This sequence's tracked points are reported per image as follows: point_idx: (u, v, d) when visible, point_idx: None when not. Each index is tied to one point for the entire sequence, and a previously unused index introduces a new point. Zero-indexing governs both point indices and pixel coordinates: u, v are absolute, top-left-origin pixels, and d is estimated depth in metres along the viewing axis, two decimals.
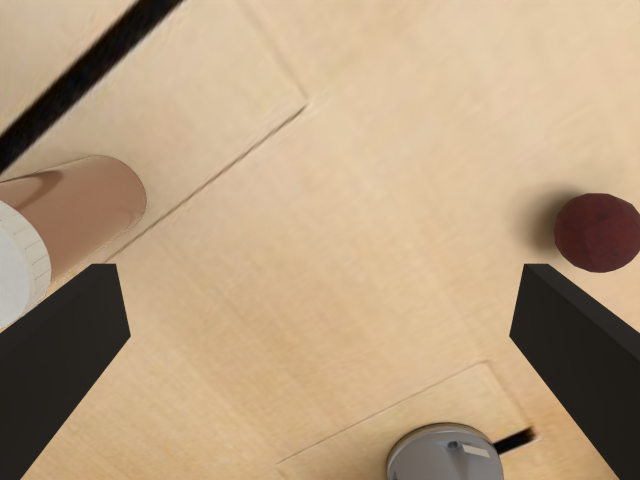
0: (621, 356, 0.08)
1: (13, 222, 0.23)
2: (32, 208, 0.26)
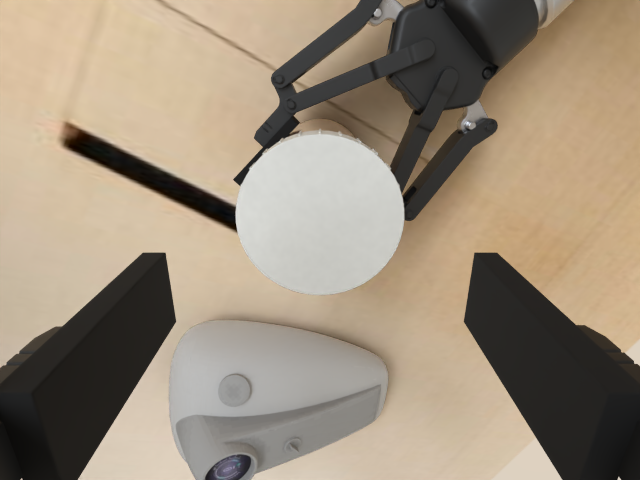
0: (541, 332, 0.09)
1: None
2: None
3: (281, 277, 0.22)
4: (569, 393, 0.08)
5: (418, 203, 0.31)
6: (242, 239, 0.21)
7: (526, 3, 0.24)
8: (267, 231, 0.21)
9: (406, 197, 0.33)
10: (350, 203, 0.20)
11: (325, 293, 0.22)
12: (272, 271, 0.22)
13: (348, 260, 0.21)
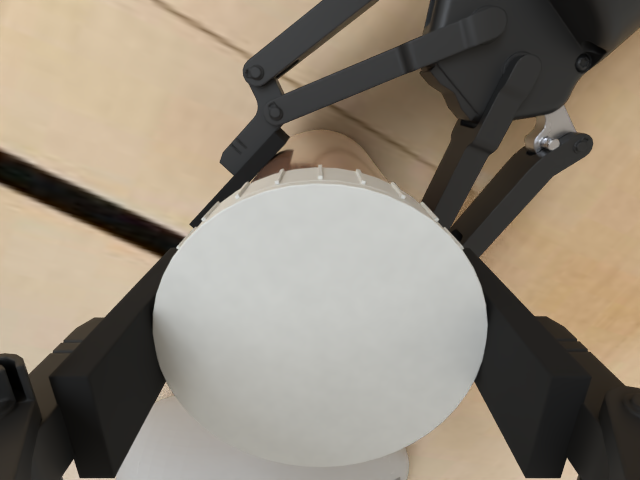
0: (501, 322, 0.10)
1: None
2: None
3: (247, 439, 0.12)
4: (522, 379, 0.08)
5: None
6: (169, 378, 0.11)
7: None
8: (217, 365, 0.11)
9: None
10: (381, 316, 0.10)
11: (330, 464, 0.12)
12: (230, 430, 0.11)
13: (373, 413, 0.11)
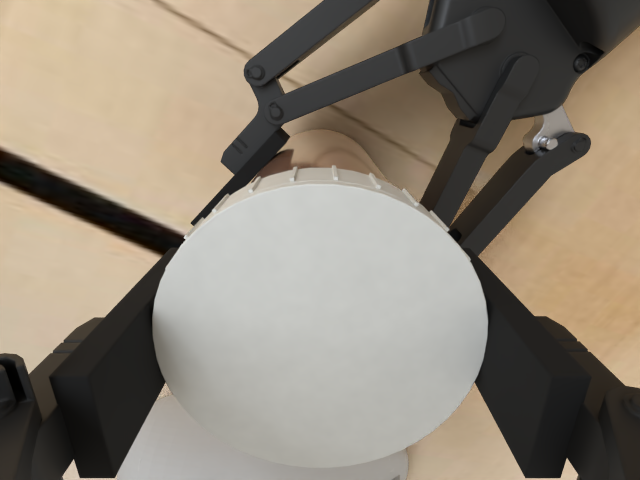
0: (501, 322, 0.10)
1: None
2: None
3: (384, 444, 0.12)
4: (522, 379, 0.08)
5: None
6: (285, 462, 0.12)
7: None
8: (292, 426, 0.11)
9: None
10: (315, 286, 0.10)
11: (460, 399, 0.11)
12: (365, 450, 0.12)
13: (423, 339, 0.10)
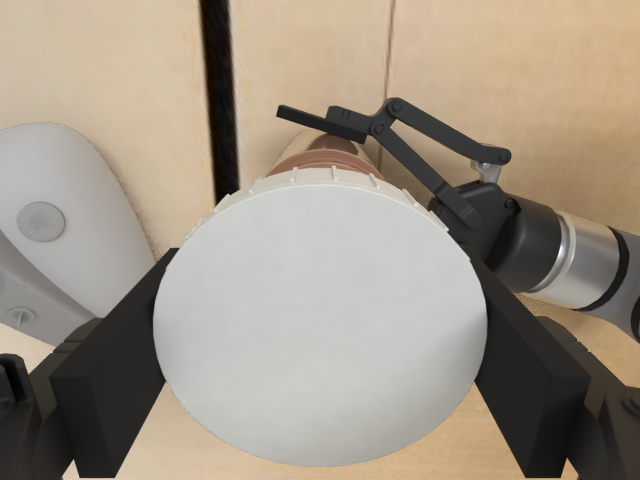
0: (501, 322, 0.10)
1: None
2: (316, 145, 0.21)
3: (383, 443, 0.12)
4: (522, 379, 0.08)
5: None
6: (286, 461, 0.12)
7: (540, 276, 0.29)
8: (292, 425, 0.11)
9: None
10: (315, 286, 0.10)
11: (459, 398, 0.11)
12: (365, 449, 0.12)
13: (423, 338, 0.10)
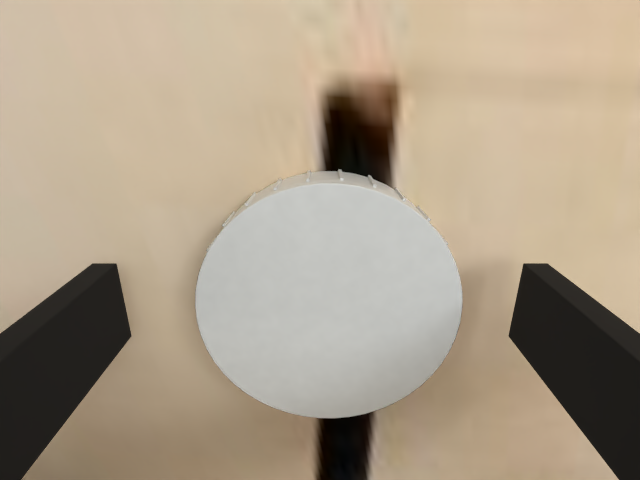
0: (620, 356, 0.08)
1: None
2: None
3: (380, 397, 0.14)
4: None
5: None
6: (299, 412, 0.14)
7: None
8: (305, 381, 0.14)
9: None
10: (325, 264, 0.12)
11: (441, 359, 0.14)
12: (364, 403, 0.14)
13: (411, 307, 0.13)
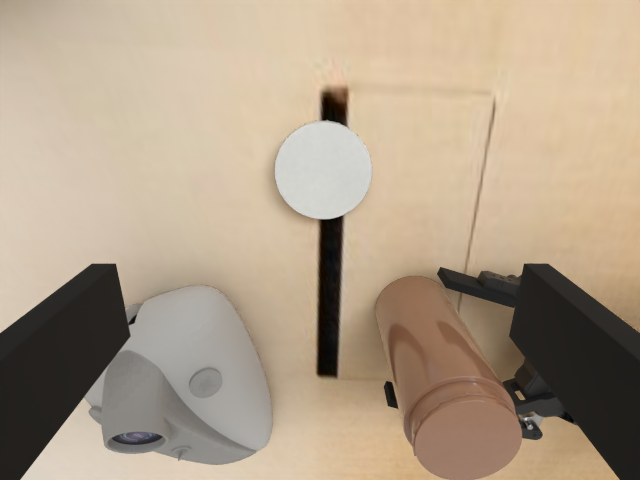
0: (621, 356, 0.08)
1: None
2: (454, 363, 0.28)
3: (343, 209, 0.37)
4: None
5: None
6: (312, 216, 0.37)
7: None
8: (314, 202, 0.37)
9: None
10: (322, 152, 0.35)
11: (365, 191, 0.36)
12: (337, 211, 0.37)
13: (353, 169, 0.35)
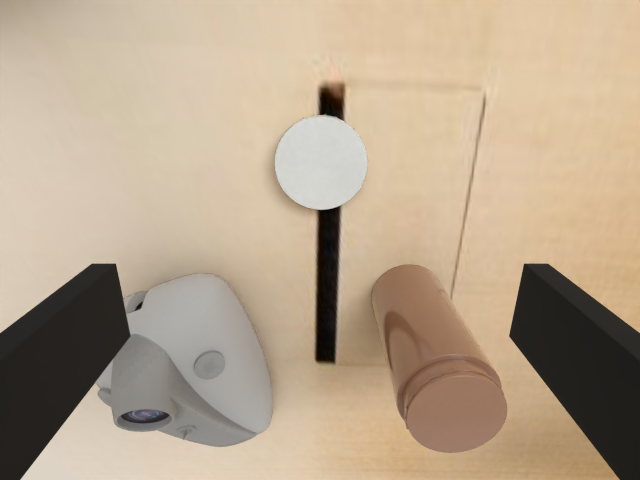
0: (621, 356, 0.08)
1: None
2: (444, 342, 0.30)
3: (340, 200, 0.38)
4: None
5: None
6: (310, 207, 0.39)
7: None
8: (312, 193, 0.38)
9: None
10: (320, 145, 0.37)
11: (361, 183, 0.38)
12: (334, 202, 0.39)
13: (349, 162, 0.37)
